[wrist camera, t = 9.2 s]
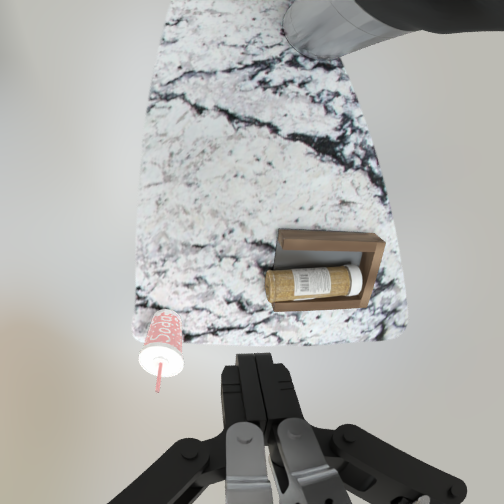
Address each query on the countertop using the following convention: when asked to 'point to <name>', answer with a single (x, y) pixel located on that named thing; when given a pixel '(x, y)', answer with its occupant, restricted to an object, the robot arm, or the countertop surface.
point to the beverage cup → (163, 346)
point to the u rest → (328, 263)
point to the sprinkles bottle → (312, 283)
